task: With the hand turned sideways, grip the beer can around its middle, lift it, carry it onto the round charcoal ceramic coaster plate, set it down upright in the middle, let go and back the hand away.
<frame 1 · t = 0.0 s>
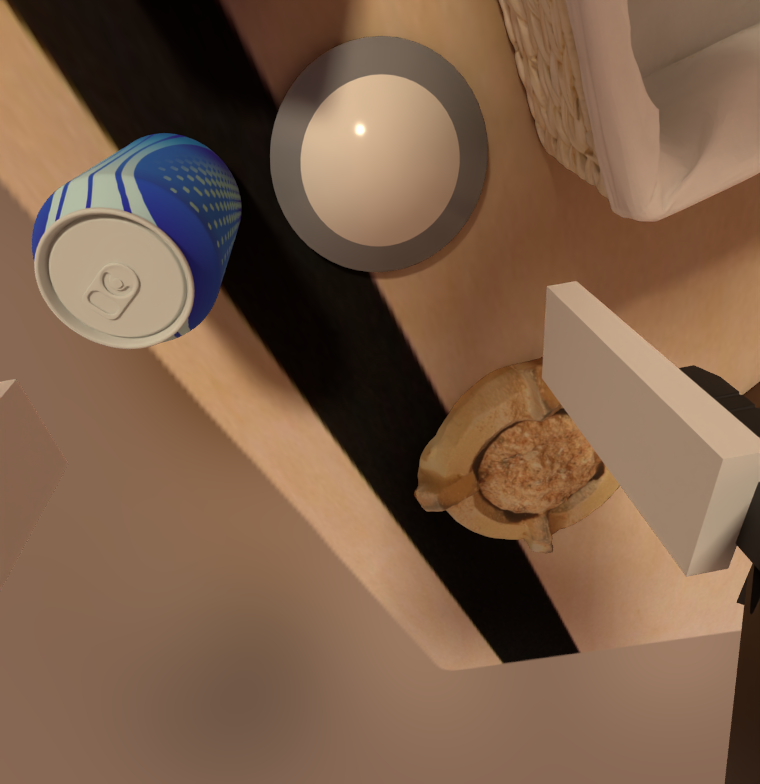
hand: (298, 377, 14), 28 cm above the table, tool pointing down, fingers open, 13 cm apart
beer can: (181, 196, 37), on the table
coaster plate: (379, 164, 37), on the table
ashtray: (529, 451, 55), on the table
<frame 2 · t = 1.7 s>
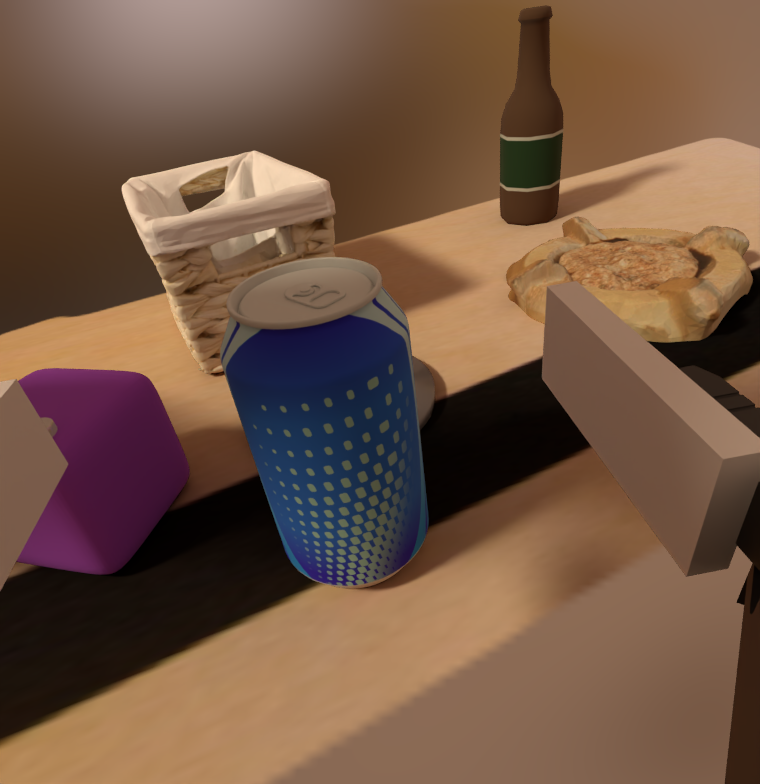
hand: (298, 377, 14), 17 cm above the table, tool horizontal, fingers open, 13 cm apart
beer can: (359, 540, 31), on the table
storage basket: (251, 318, 59), on the table
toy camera: (87, 520, 36), on the table
beer bottle: (528, 218, 75), on the table
coaster plate: (342, 402, 43), on the table
ashtray: (625, 289, 54), on the table
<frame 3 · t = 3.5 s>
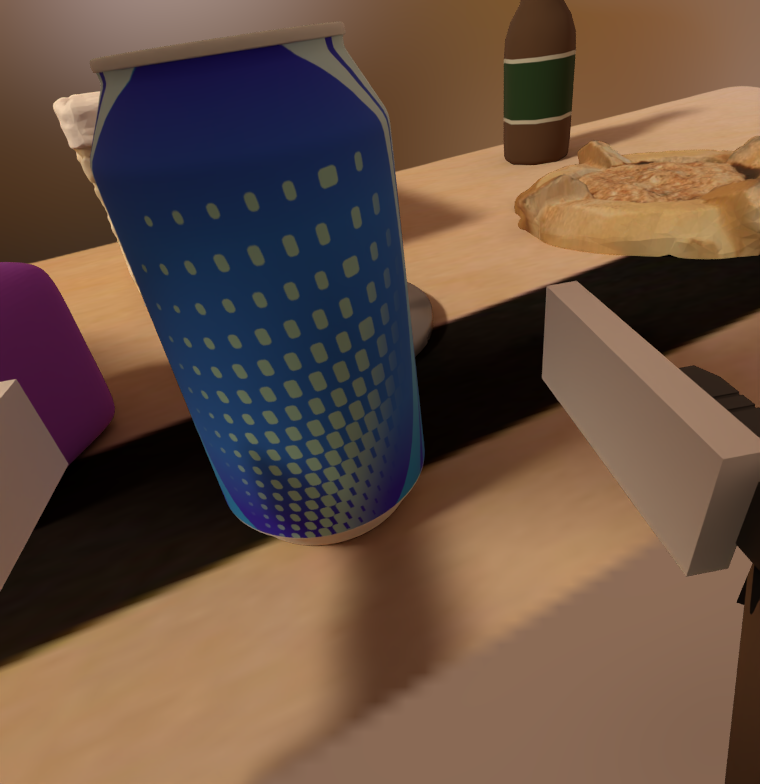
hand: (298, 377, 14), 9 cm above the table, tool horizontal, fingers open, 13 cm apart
beer can: (330, 485, 23), on the table
storage basket: (216, 259, 51), on the table
beer bottle: (535, 159, 66), on the table
coaster plate: (317, 333, 34), on the table
ashtray: (655, 215, 46), on the table
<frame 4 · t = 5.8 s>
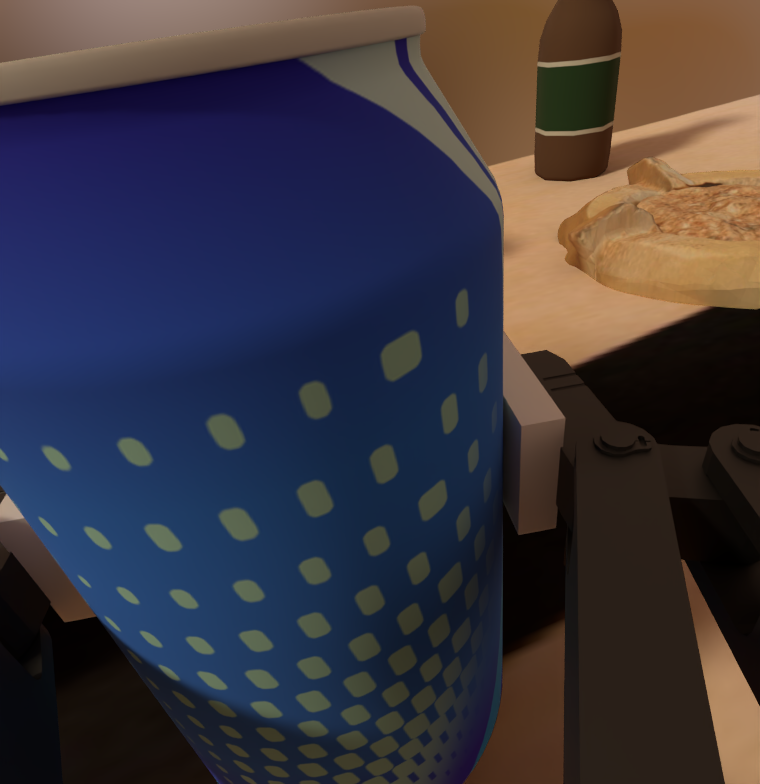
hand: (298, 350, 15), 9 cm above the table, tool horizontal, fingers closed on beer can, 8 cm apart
beer can: (358, 686, 16), on the table, touching gripper
beer bottle: (570, 174, 59), on the table
ashtray: (729, 249, 39), on the table
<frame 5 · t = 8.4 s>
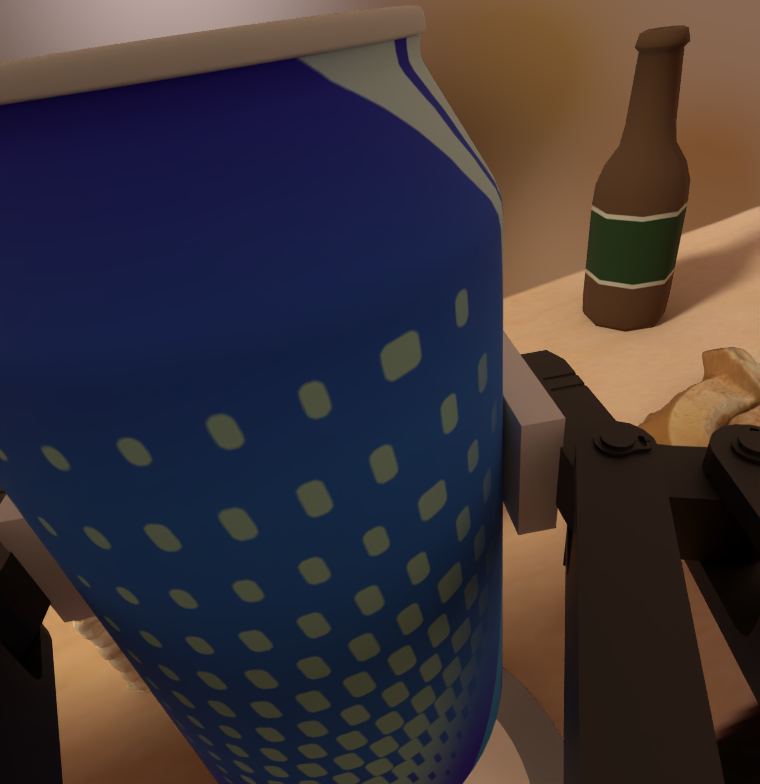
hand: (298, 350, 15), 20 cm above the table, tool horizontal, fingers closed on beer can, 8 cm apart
beer can: (358, 686, 16), point 11 cm above the table, touching gripper
storage basket: (226, 515, 38), on the table
beer bottle: (622, 315, 54), on the table
when the fingers open (10 cm above the table, at t = 11.2 s): beer can stays where it is, resting on coaster plate.
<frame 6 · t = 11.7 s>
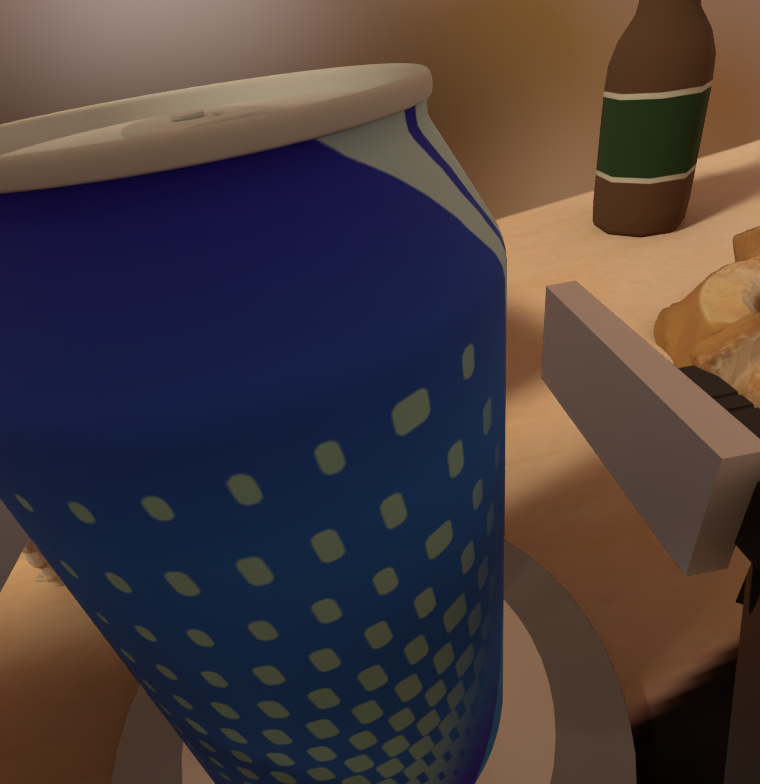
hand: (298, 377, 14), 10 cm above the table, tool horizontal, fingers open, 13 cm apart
beer can: (361, 699, 16), point 1 cm above the table, touching coaster plate
storage basket: (180, 416, 33), on the table
beer bottle: (636, 225, 49), on the table
coaster plate: (369, 710, 17), on the table
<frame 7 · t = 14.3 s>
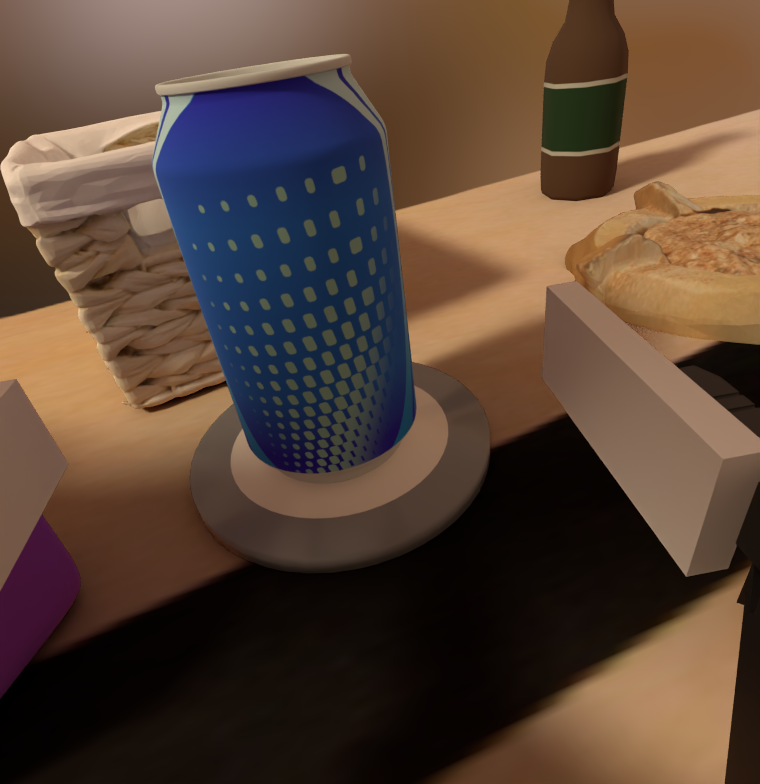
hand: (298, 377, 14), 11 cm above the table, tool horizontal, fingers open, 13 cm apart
beer can: (336, 438, 27), point 1 cm above the table, touching coaster plate
storage basket: (208, 325, 43), on the table
beer bottle: (576, 193, 59), on the table
coaster plate: (342, 450, 28), on the table
ashtray: (737, 277, 39), on the table
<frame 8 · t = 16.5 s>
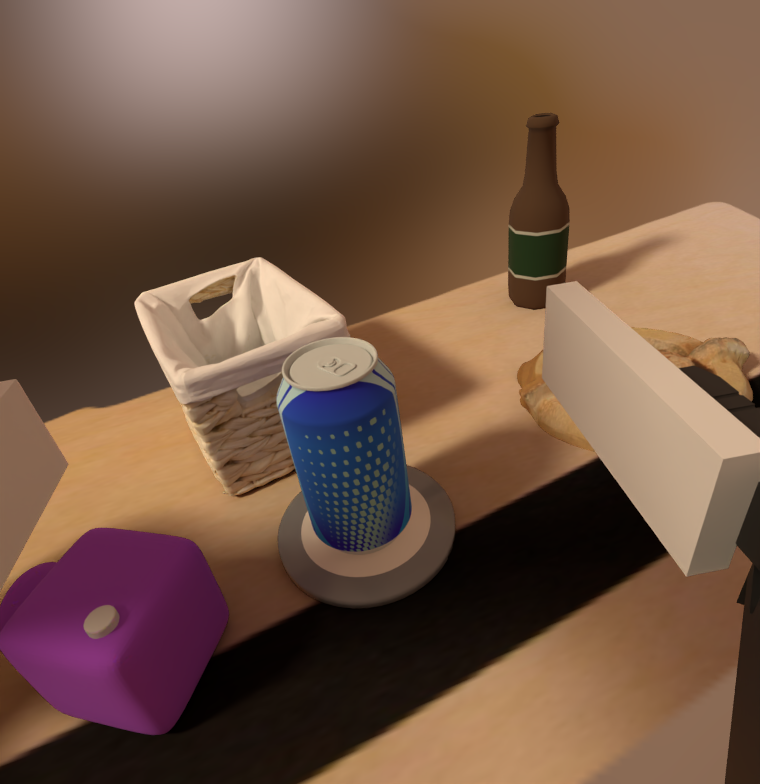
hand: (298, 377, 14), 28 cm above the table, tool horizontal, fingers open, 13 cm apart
beer can: (364, 523, 45), point 1 cm above the table, touching coaster plate
storage basket: (264, 421, 61), on the table
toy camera: (134, 663, 38), on the table
beer bottle: (535, 299, 77), on the table
coaster plate: (367, 529, 46), on the table
ashtray: (631, 395, 57), on the table
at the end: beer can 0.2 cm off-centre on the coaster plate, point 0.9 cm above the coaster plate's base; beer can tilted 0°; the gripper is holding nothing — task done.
